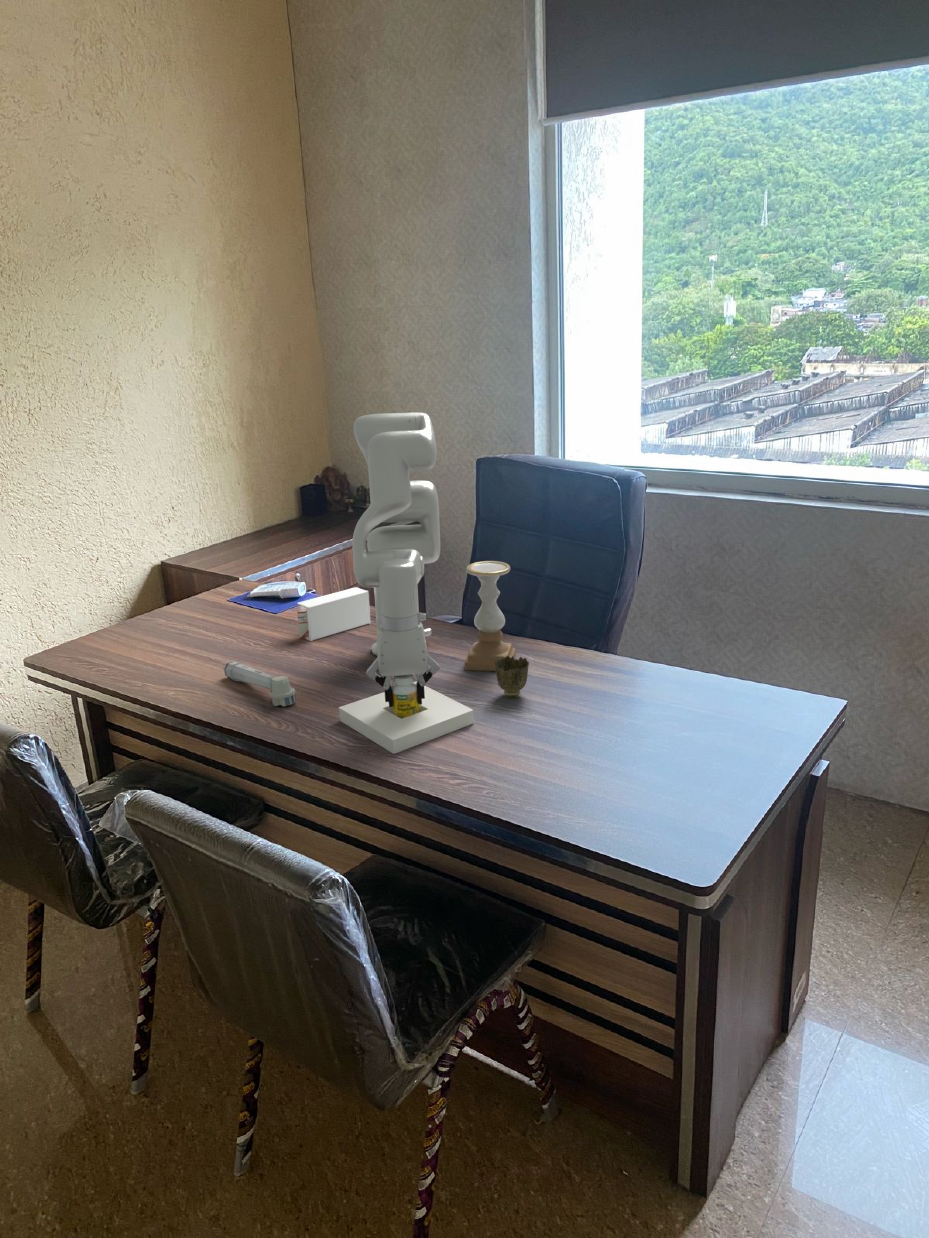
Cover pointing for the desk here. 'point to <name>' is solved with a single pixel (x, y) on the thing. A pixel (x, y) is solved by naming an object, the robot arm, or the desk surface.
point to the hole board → (406, 720)
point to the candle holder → (488, 619)
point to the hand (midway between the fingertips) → (405, 702)
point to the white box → (334, 613)
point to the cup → (511, 675)
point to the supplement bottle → (404, 696)
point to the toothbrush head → (263, 682)
